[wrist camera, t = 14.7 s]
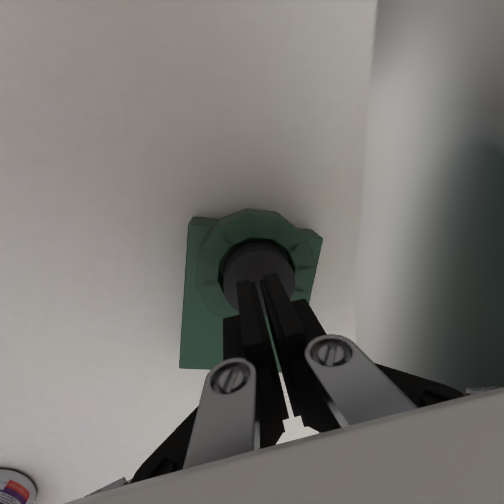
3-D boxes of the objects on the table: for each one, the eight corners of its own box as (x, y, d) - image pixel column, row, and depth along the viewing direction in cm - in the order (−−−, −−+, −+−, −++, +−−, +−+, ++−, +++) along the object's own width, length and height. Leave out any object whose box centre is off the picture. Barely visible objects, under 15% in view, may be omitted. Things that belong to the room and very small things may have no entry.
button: (227, 237, 15) (227, 247, 13) (293, 244, 15) (301, 255, 14) (220, 298, 16) (220, 315, 14) (282, 303, 16) (288, 319, 15)
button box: (193, 196, 17) (185, 206, 14) (316, 211, 18) (340, 224, 15) (183, 347, 21) (174, 389, 17) (287, 352, 22) (300, 393, 18)
